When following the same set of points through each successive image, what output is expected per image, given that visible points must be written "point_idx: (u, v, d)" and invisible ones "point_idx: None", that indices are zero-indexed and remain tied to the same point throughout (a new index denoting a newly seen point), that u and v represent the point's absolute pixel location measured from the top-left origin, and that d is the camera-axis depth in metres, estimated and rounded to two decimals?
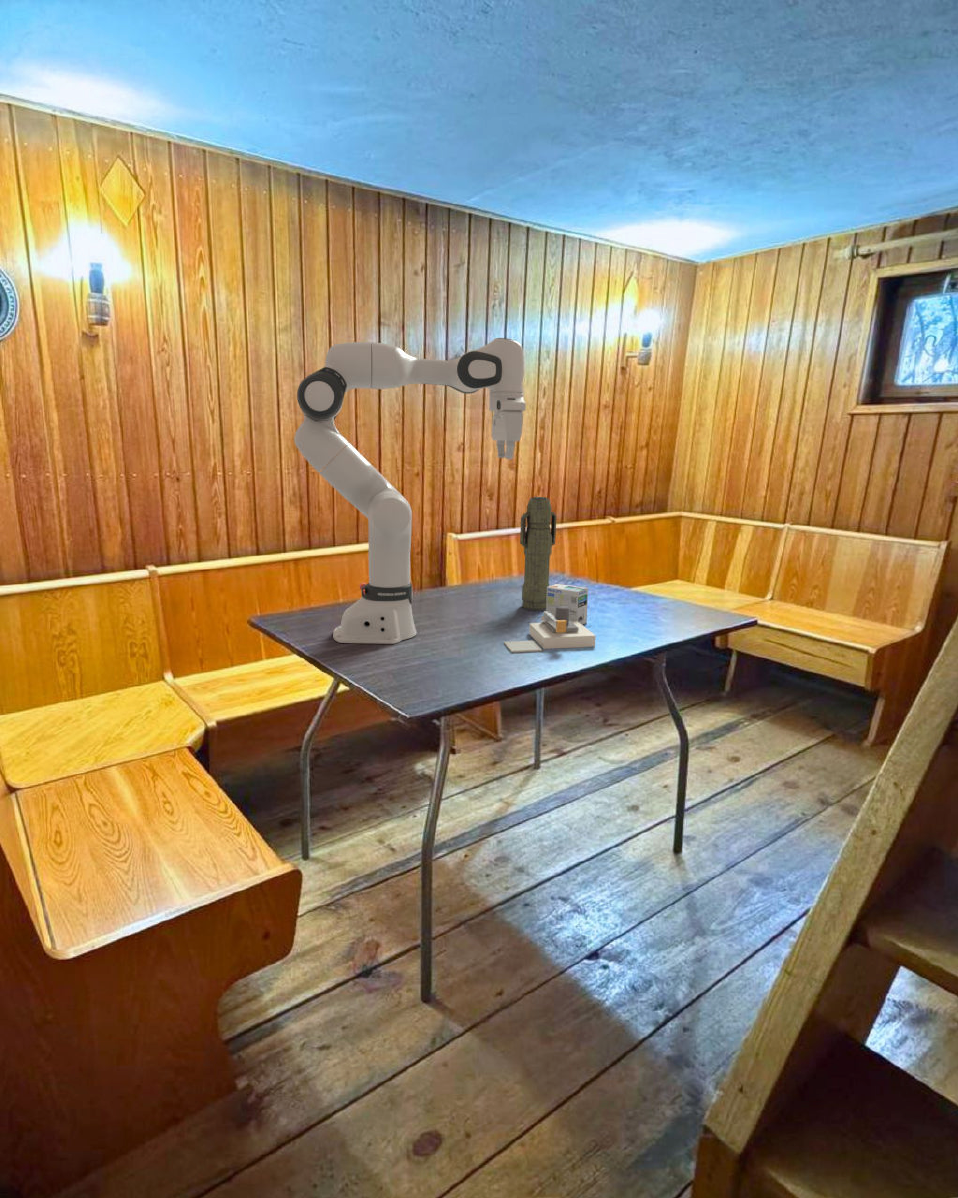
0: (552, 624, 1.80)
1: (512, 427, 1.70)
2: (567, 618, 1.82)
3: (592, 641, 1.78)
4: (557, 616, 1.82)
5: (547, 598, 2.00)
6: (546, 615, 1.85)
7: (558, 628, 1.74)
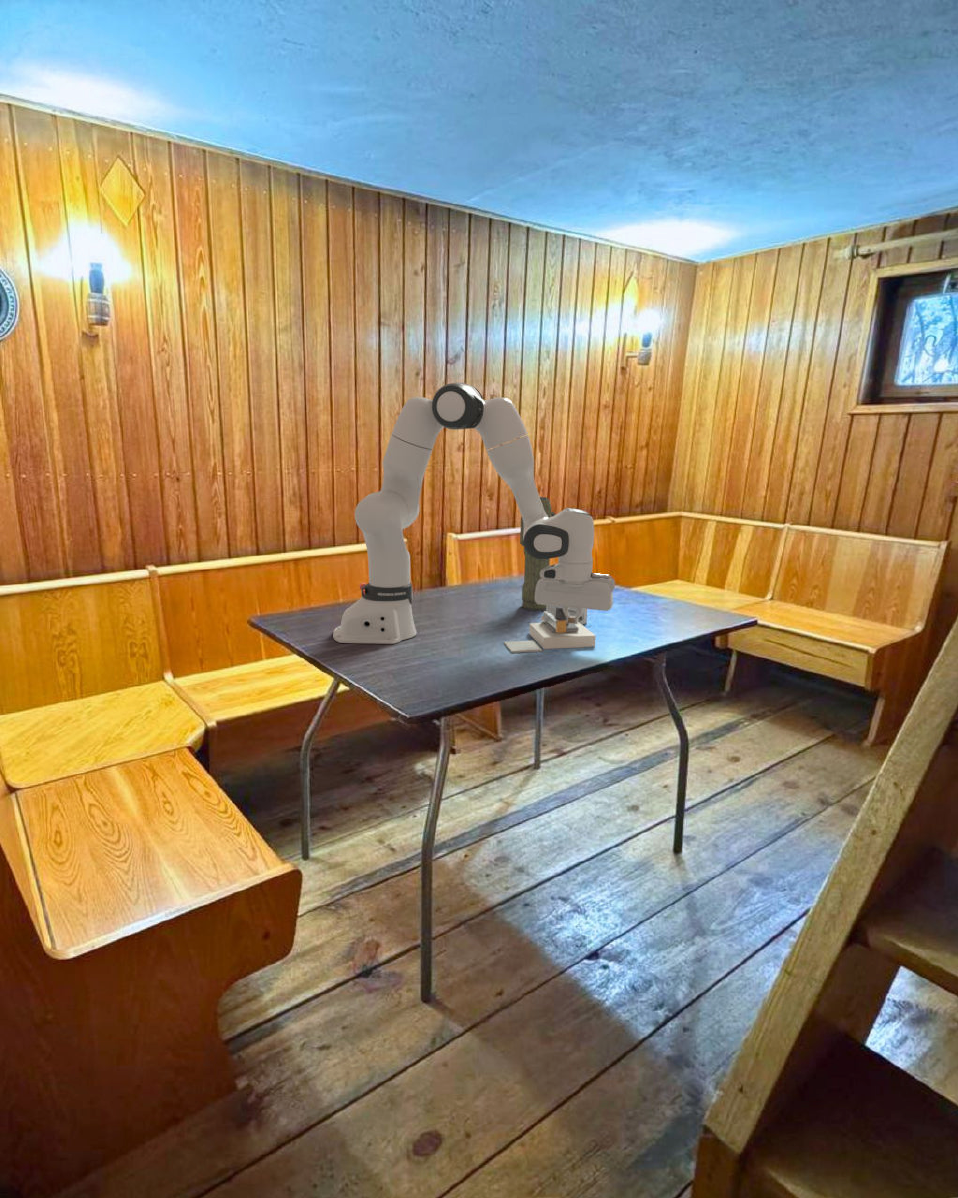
0: (552, 624, 1.80)
1: None
2: None
3: (592, 641, 1.78)
4: (557, 616, 1.82)
5: None
6: (546, 615, 1.85)
7: (558, 628, 1.74)
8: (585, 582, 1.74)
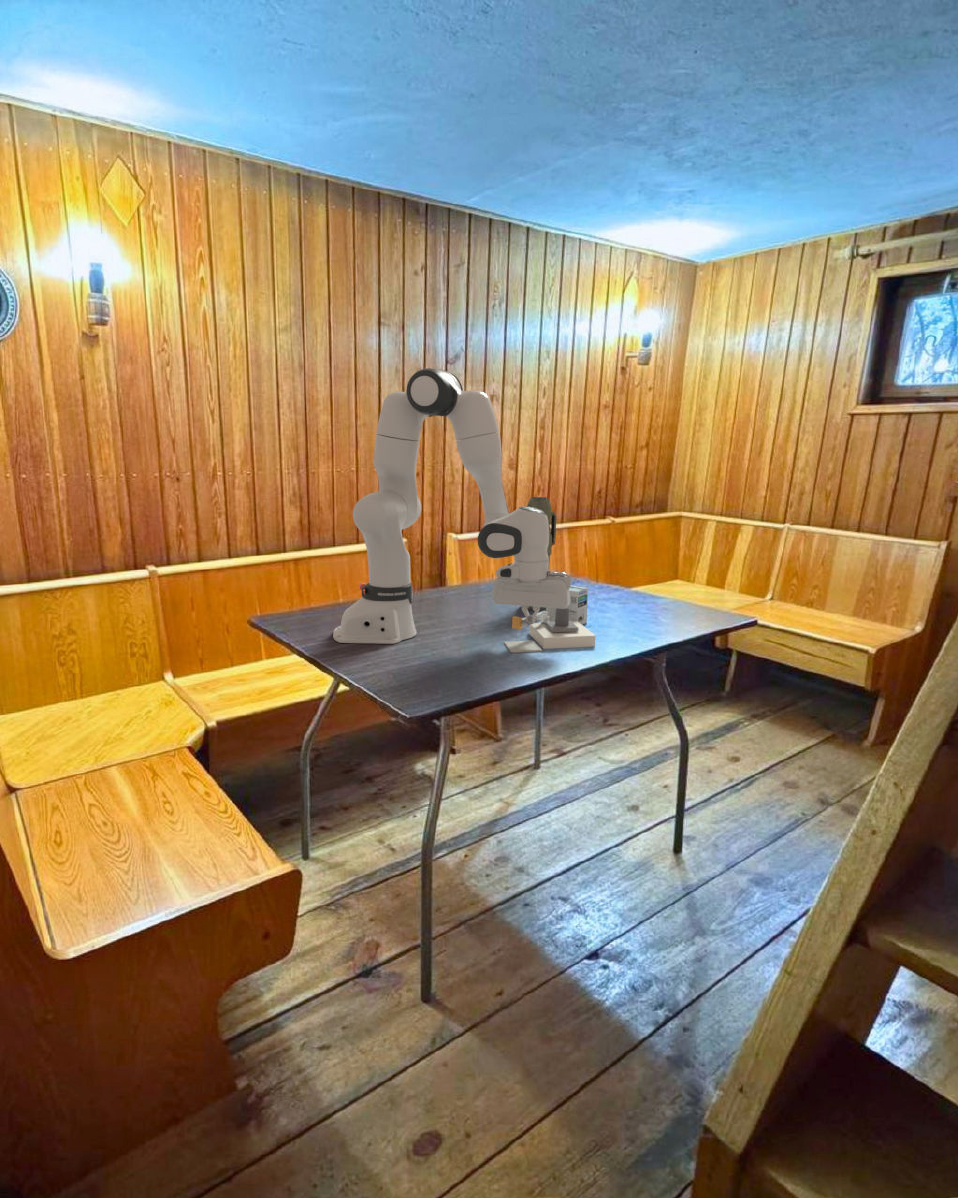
0: None
1: None
2: (567, 618, 1.82)
3: (592, 641, 1.78)
4: (557, 616, 1.82)
5: None
6: None
7: (513, 624, 1.78)
8: (541, 580, 1.74)
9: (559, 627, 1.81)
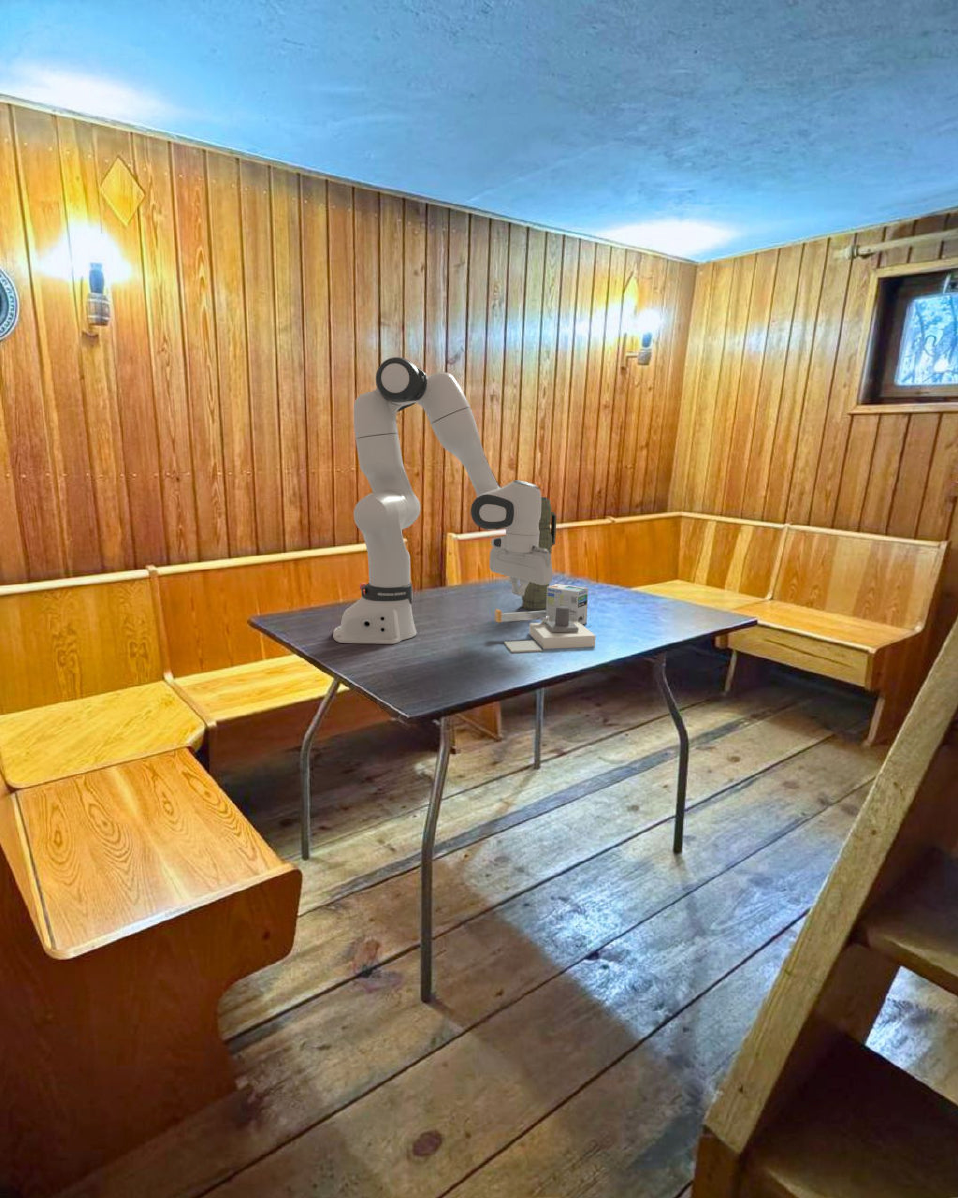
0: None
1: None
2: (567, 618, 1.82)
3: (592, 641, 1.78)
4: (557, 616, 1.82)
5: (547, 598, 2.00)
6: None
7: (495, 616, 1.85)
8: (525, 554, 1.76)
9: (559, 627, 1.81)
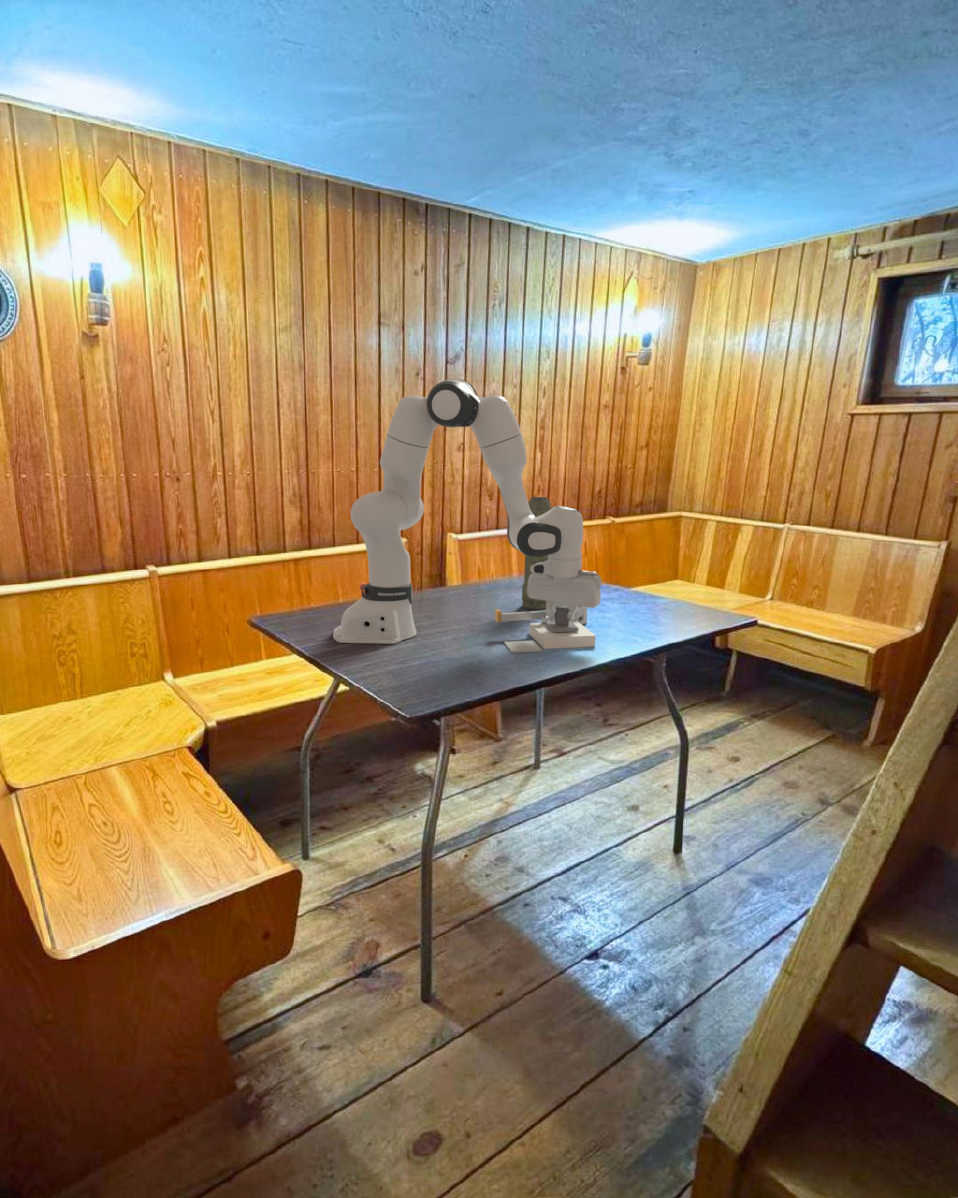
0: None
1: None
2: None
3: (592, 641, 1.78)
4: (557, 616, 1.82)
5: None
6: None
7: (495, 616, 1.85)
8: (572, 578, 1.77)
9: (559, 627, 1.81)
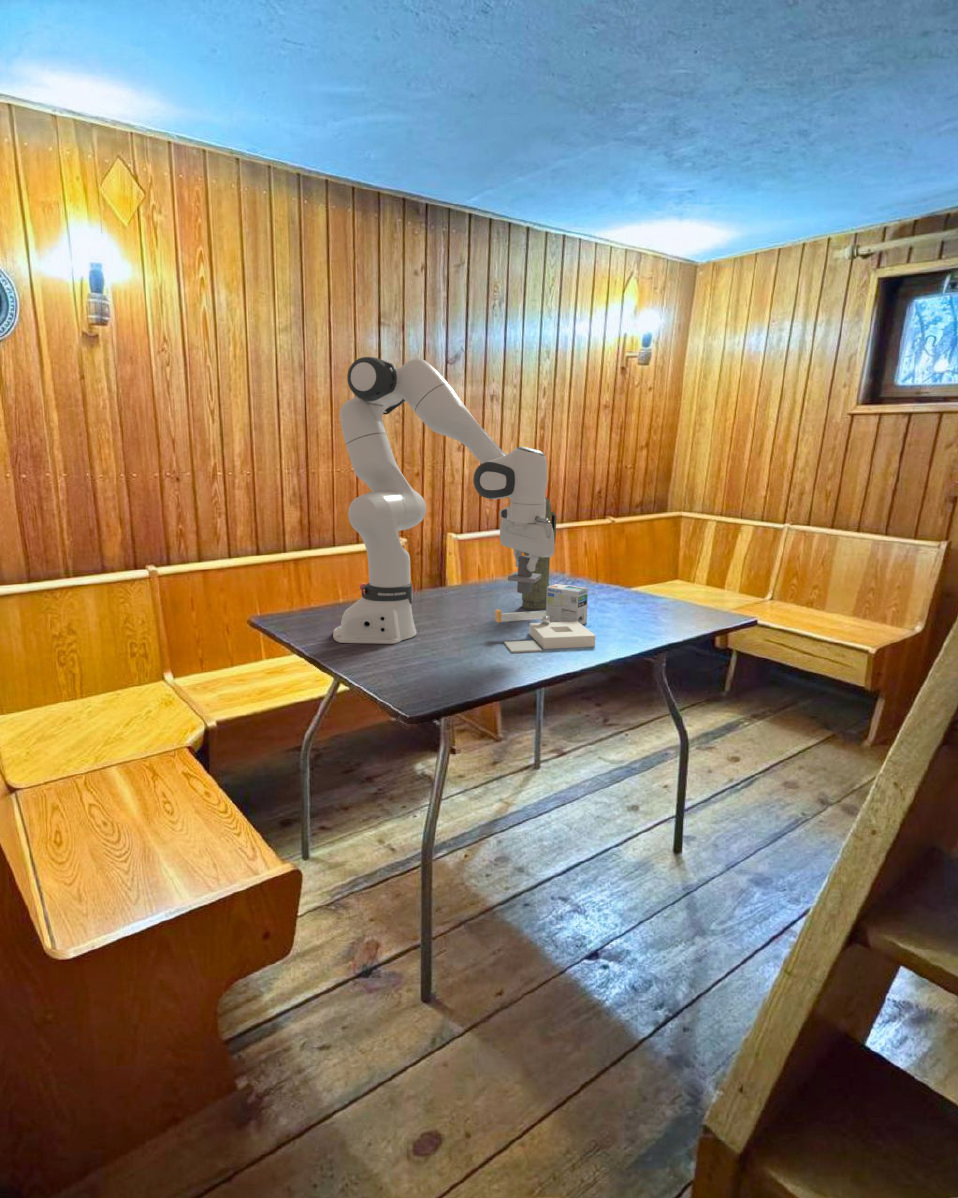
0: None
1: None
2: None
3: (592, 641, 1.78)
4: (518, 565, 1.72)
5: (547, 598, 2.00)
6: None
7: (495, 616, 1.85)
8: (528, 525, 1.66)
9: (516, 576, 1.71)
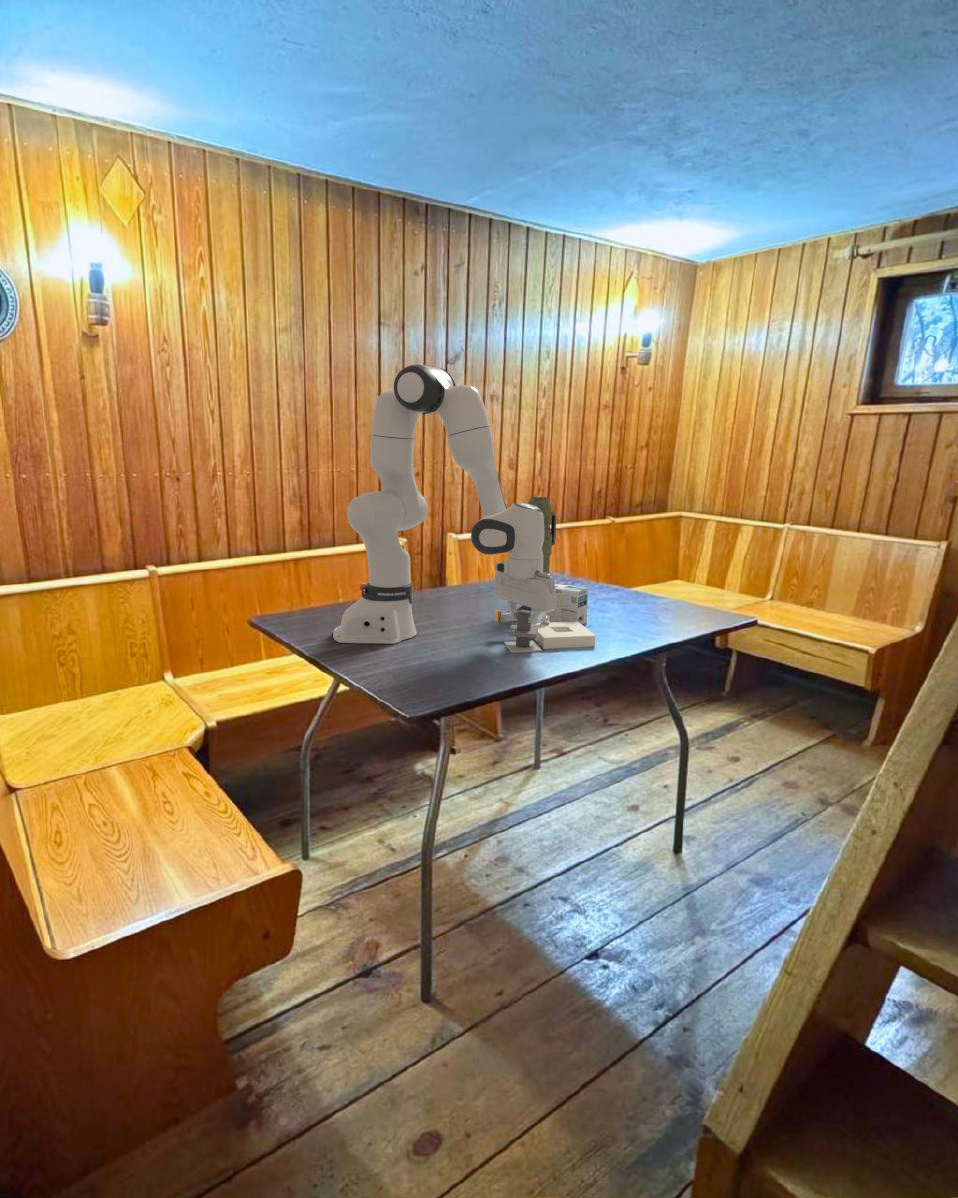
0: None
1: None
2: (527, 623, 1.74)
3: (592, 641, 1.78)
4: (517, 620, 1.75)
5: None
6: None
7: (495, 616, 1.85)
8: (528, 579, 1.69)
9: (516, 631, 1.74)
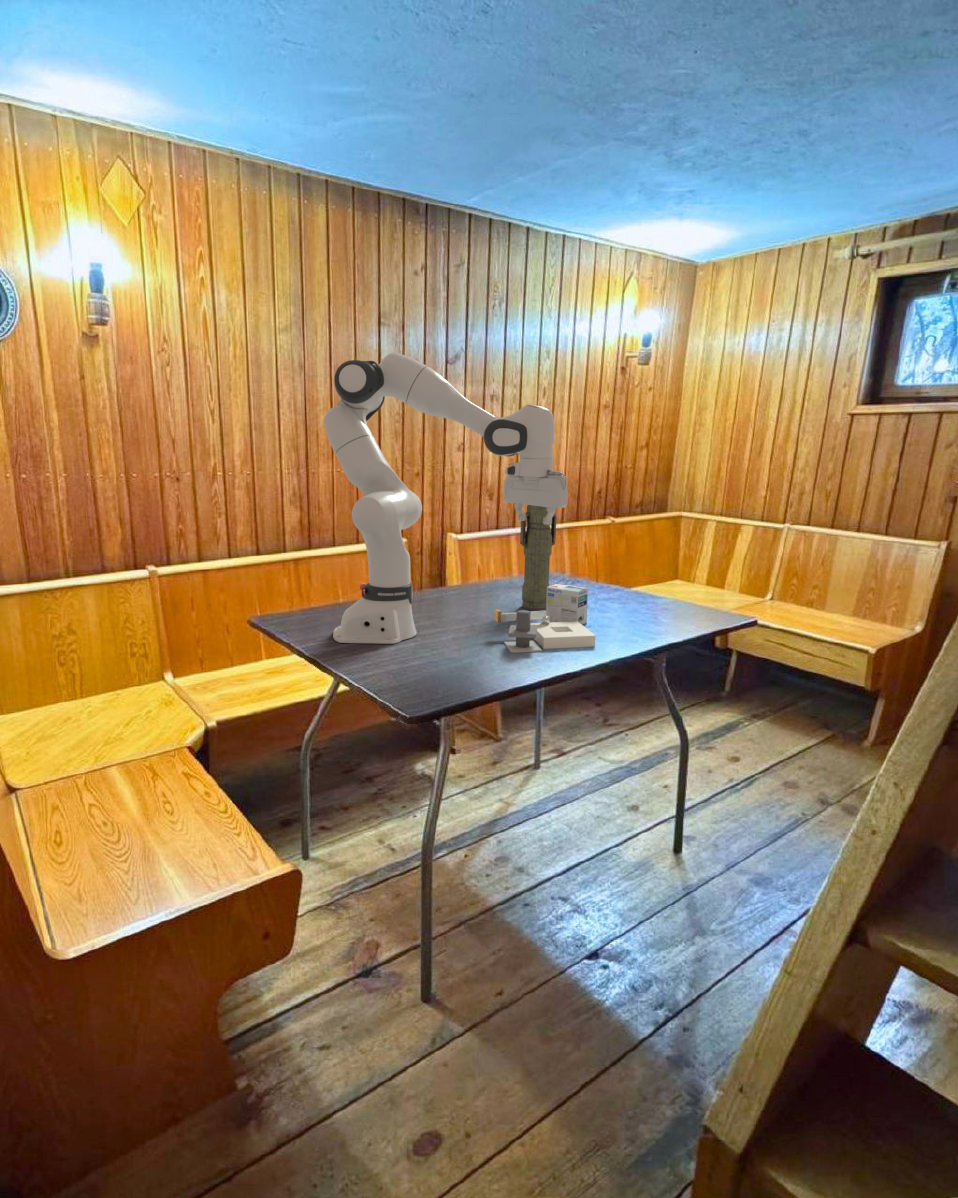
0: None
1: None
2: (526, 623, 1.74)
3: (592, 641, 1.78)
4: (517, 620, 1.75)
5: (547, 598, 2.00)
6: None
7: (495, 616, 1.85)
8: (540, 478, 1.75)
9: (516, 632, 1.74)
